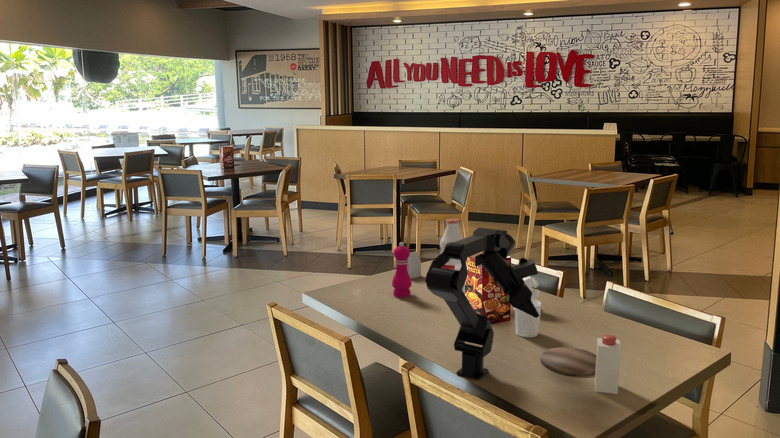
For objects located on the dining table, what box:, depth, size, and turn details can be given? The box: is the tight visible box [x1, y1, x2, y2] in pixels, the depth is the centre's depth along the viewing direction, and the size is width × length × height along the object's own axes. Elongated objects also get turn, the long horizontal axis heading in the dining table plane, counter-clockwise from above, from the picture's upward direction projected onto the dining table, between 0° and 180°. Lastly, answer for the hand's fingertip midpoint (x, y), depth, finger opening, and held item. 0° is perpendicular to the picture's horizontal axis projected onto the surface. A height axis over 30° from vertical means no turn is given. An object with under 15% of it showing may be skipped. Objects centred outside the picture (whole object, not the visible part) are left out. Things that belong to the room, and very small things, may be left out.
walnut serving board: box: [540, 346, 596, 377], centre depth 170 cm, size 16×16×1 cm
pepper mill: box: [391, 241, 412, 298], centre depth 228 cm, size 7×7×20 cm
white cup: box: [514, 299, 542, 338], centre depth 191 cm, size 8×8×10 cm
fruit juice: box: [439, 217, 464, 270], centre depth 228 cm, size 9×9×28 cm
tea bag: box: [407, 250, 422, 280], centre depth 252 cm, size 4×7×10 cm, turn 134°
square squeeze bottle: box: [594, 334, 622, 395], centre depth 154 cm, size 5×5×14 cm
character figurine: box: [512, 276, 541, 311], centre depth 212 cm, size 9×10×12 cm
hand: (534, 312), depth 169 cm, fingers open, 9 cm apart
